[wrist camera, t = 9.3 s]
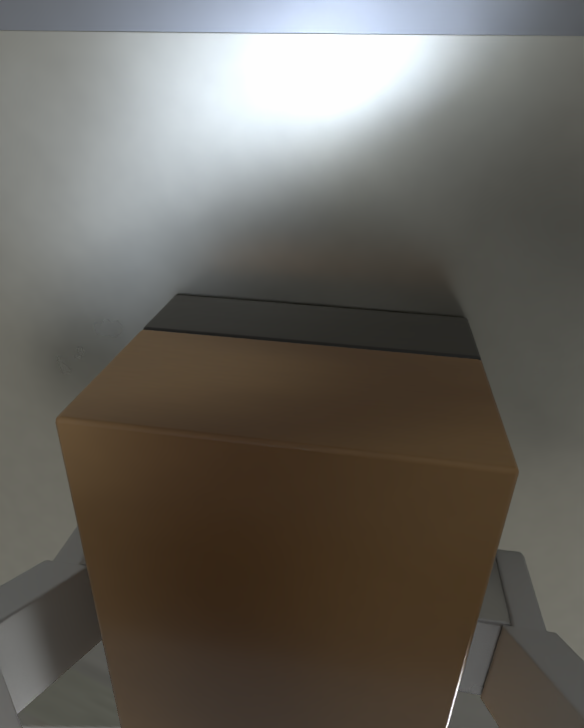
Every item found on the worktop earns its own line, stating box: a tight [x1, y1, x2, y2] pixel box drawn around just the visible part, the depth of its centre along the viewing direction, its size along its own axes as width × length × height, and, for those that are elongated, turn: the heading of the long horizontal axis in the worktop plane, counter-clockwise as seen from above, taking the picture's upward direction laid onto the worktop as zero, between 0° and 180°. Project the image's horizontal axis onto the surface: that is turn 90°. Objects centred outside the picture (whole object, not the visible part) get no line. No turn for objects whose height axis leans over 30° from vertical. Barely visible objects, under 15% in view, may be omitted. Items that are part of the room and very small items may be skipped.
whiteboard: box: [0, 0, 584, 661], centre depth 11 cm, size 20×14×1 cm
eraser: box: [55, 295, 519, 728], centre depth 10 cm, size 5×9×4 cm, turn 179°
